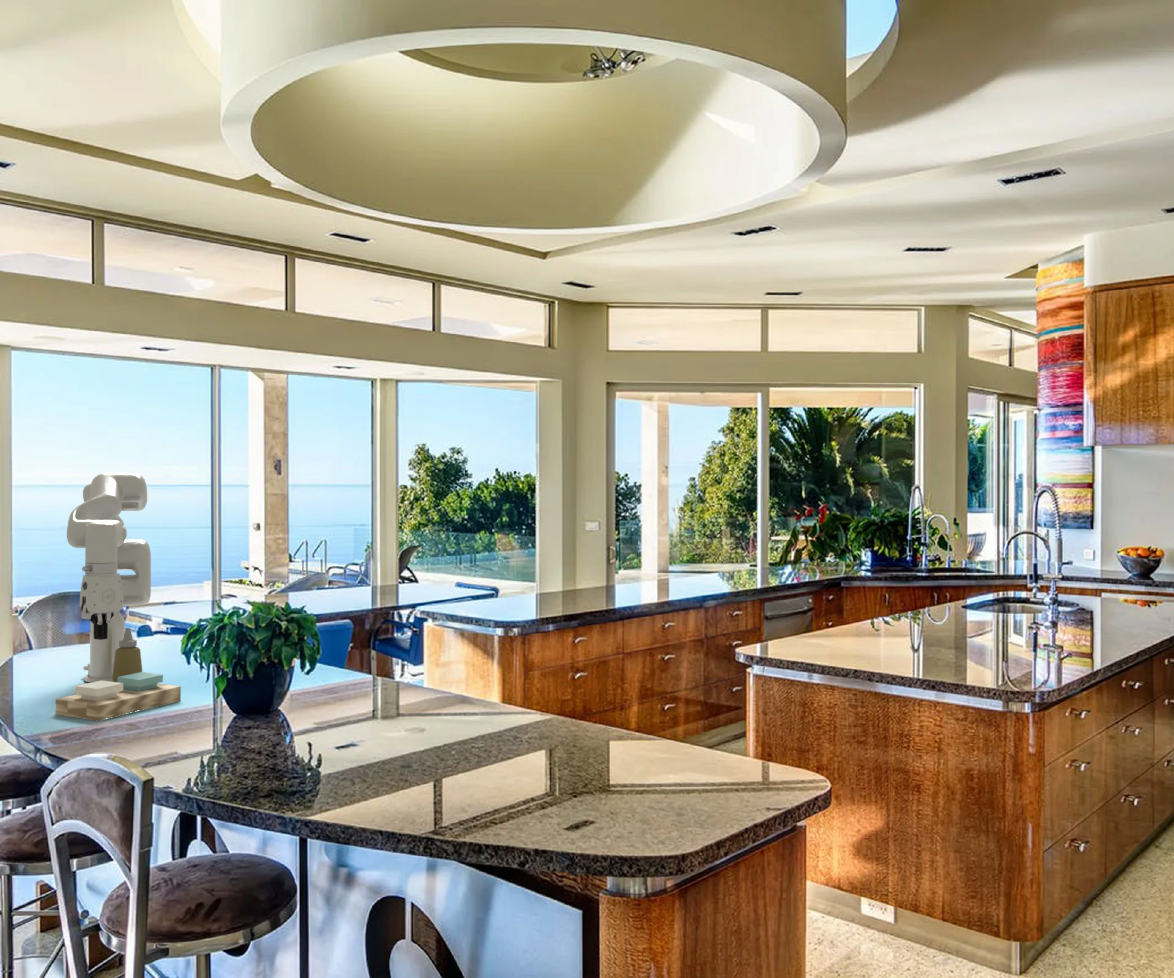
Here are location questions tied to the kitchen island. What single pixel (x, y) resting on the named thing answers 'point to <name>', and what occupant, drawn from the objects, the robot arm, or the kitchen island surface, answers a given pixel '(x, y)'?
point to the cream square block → (99, 690)
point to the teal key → (140, 681)
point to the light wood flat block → (117, 703)
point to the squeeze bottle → (127, 657)
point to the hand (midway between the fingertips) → (100, 638)
